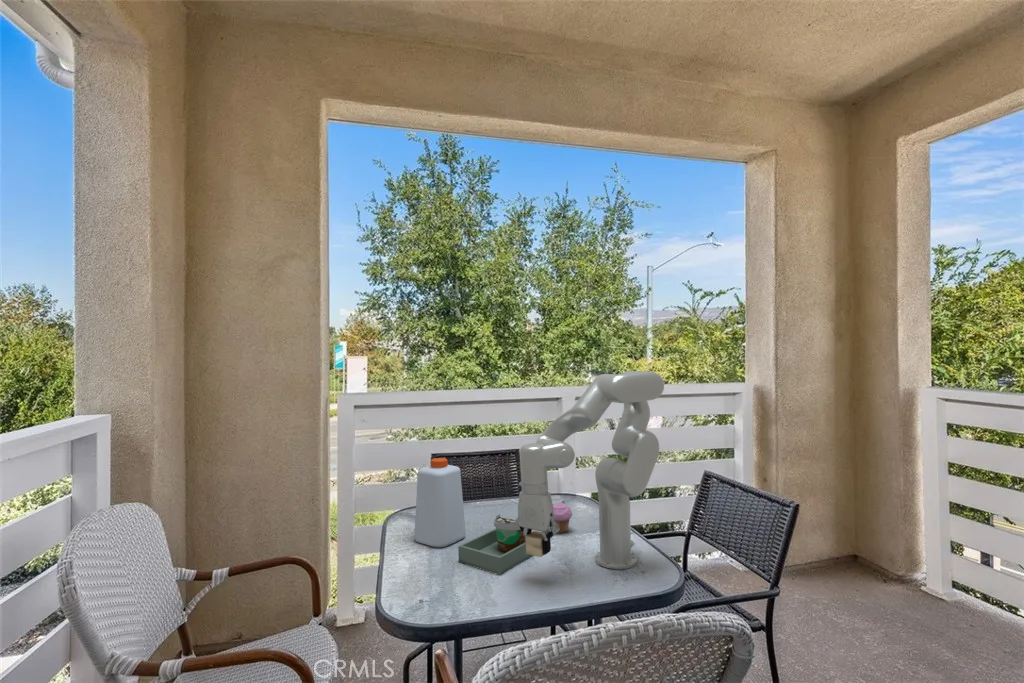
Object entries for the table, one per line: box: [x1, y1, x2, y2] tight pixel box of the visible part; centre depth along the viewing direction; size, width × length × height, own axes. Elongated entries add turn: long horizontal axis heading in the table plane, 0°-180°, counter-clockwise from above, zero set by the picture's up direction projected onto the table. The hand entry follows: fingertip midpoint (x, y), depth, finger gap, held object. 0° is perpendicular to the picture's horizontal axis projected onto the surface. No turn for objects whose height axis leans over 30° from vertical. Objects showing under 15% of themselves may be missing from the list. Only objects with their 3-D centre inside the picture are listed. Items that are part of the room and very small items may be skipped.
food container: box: [493, 514, 525, 553], centre depth 165 cm, size 12×6×10 cm, turn 49°
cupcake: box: [552, 503, 573, 534], centre depth 184 cm, size 9×9×10 cm
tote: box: [458, 527, 534, 576], centre depth 162 cm, size 20×17×5 cm
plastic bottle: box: [413, 457, 466, 548], centre depth 179 cm, size 15×15×28 cm
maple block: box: [525, 530, 545, 558], centre depth 145 cm, size 5×5×5 cm
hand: (538, 550), depth 145 cm, fingers closed on maple block, 5 cm apart
